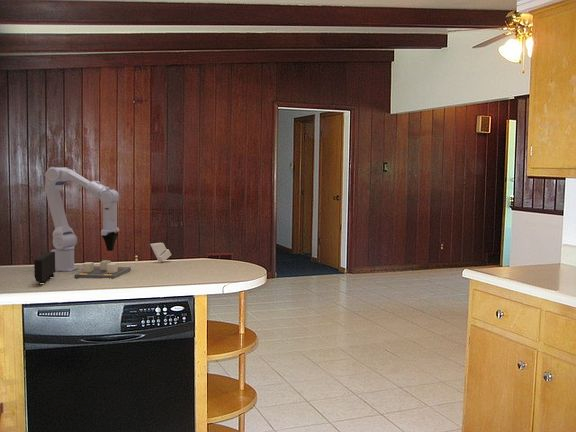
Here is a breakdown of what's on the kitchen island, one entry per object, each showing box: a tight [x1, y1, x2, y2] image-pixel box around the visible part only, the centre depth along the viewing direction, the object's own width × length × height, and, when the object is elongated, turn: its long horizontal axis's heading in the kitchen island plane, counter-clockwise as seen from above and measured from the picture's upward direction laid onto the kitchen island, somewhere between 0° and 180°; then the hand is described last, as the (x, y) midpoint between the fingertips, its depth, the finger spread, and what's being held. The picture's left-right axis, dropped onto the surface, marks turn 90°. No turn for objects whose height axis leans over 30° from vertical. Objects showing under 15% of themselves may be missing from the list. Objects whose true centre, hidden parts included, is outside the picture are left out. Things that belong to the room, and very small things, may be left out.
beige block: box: [82, 261, 95, 273], centre depth 233 cm, size 3×4×4 cm
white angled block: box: [149, 242, 172, 263], centre depth 271 cm, size 4×10×9 cm, turn 143°
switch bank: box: [74, 265, 132, 280], centre depth 237 cm, size 16×20×2 cm
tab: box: [99, 259, 112, 270], centre depth 238 cm, size 3×4×4 cm
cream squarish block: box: [107, 262, 119, 273], centre depth 232 cm, size 3×4×4 cm
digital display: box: [33, 251, 56, 284], centre depth 221 cm, size 21×3×10 cm, turn 10°
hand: (110, 250), depth 241 cm, fingers closed
